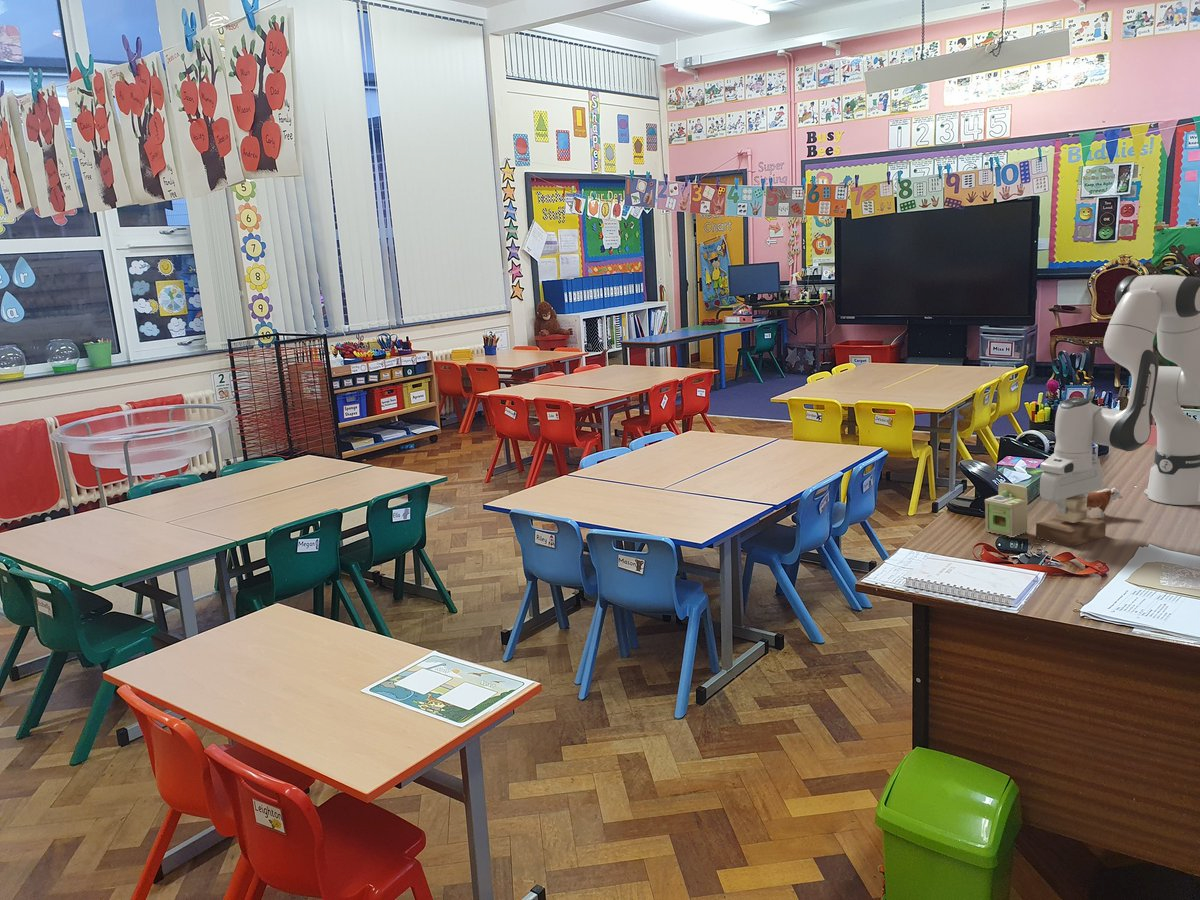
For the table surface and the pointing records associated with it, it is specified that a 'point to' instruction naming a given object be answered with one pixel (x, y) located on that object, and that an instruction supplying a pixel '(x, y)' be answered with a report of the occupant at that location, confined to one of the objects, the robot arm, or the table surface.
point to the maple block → (1074, 509)
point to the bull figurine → (1102, 499)
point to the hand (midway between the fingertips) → (1071, 511)
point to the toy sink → (1007, 510)
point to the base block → (1070, 531)
